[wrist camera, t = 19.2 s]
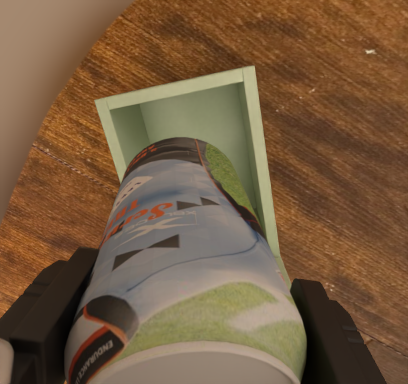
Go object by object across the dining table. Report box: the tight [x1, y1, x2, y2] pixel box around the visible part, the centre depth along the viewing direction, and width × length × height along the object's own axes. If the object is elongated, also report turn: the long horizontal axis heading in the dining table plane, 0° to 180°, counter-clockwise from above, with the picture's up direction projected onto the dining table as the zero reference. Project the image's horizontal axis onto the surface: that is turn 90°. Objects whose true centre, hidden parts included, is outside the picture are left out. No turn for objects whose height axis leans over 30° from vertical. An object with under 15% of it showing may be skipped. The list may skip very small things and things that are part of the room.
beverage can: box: [64, 137, 307, 384], centre depth 12 cm, size 6×7×12 cm
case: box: [95, 66, 280, 258], centre depth 29 cm, size 16×12×10 cm
